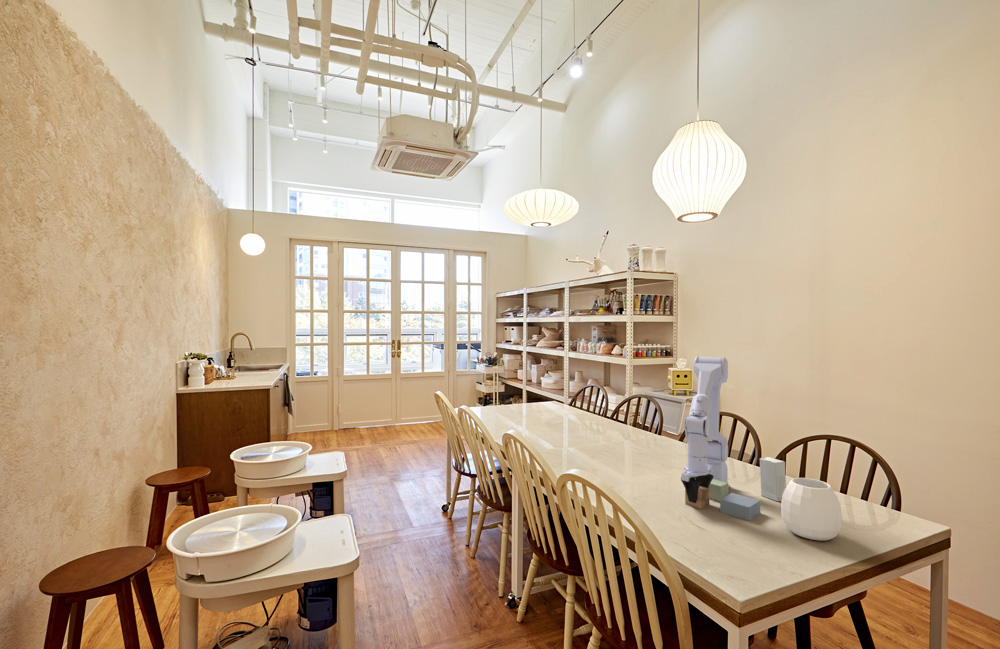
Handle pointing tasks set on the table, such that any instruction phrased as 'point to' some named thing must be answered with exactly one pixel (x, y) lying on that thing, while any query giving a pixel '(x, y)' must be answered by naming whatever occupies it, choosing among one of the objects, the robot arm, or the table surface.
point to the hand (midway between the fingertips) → (697, 499)
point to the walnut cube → (699, 498)
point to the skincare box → (772, 478)
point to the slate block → (740, 506)
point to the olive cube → (718, 490)
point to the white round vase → (811, 509)
